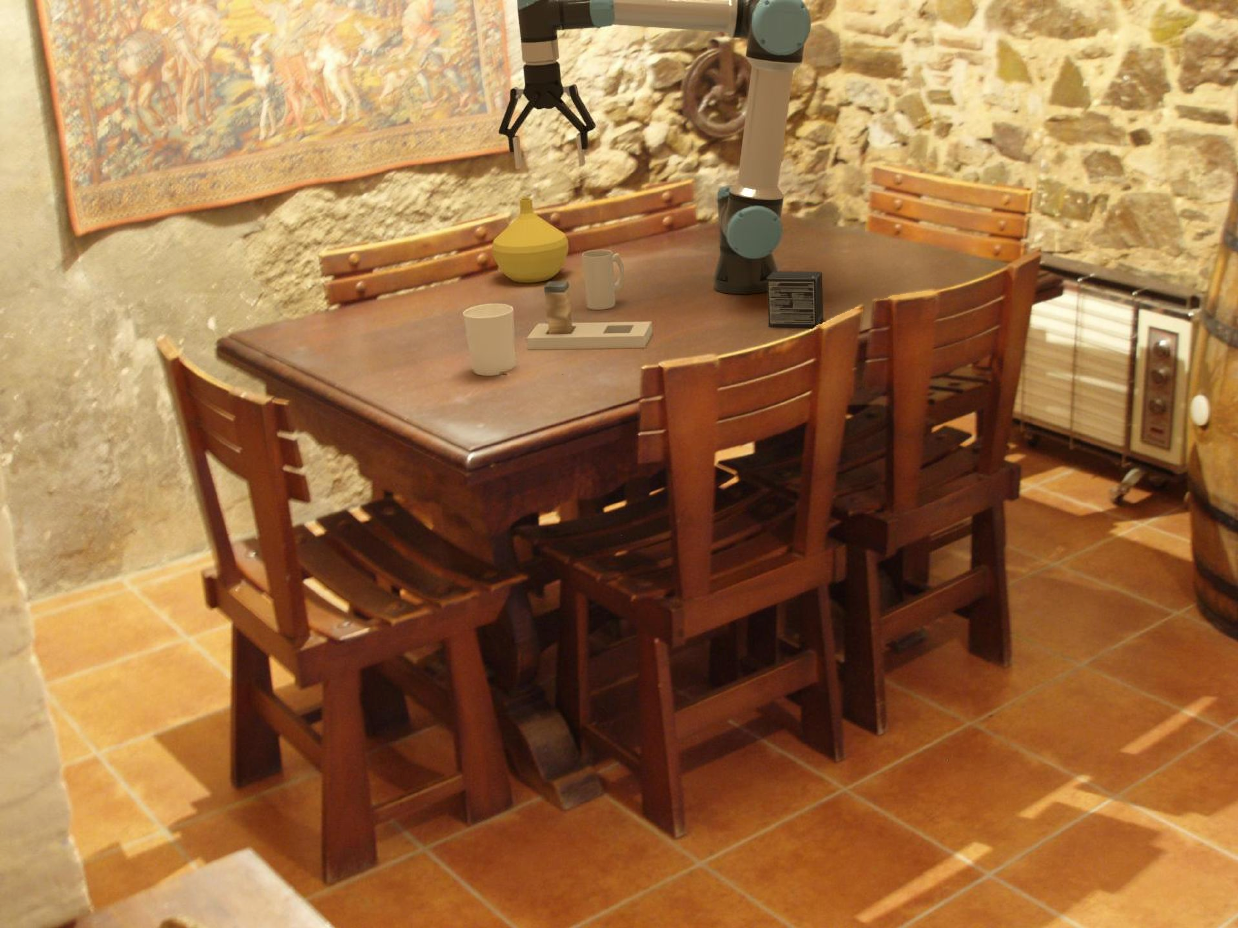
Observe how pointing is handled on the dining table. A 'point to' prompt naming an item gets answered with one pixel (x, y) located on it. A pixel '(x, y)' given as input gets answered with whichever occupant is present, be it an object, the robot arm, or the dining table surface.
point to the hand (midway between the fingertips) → (550, 166)
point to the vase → (530, 247)
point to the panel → (592, 336)
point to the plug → (558, 307)
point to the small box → (795, 299)
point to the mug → (601, 278)
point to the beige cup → (490, 338)
